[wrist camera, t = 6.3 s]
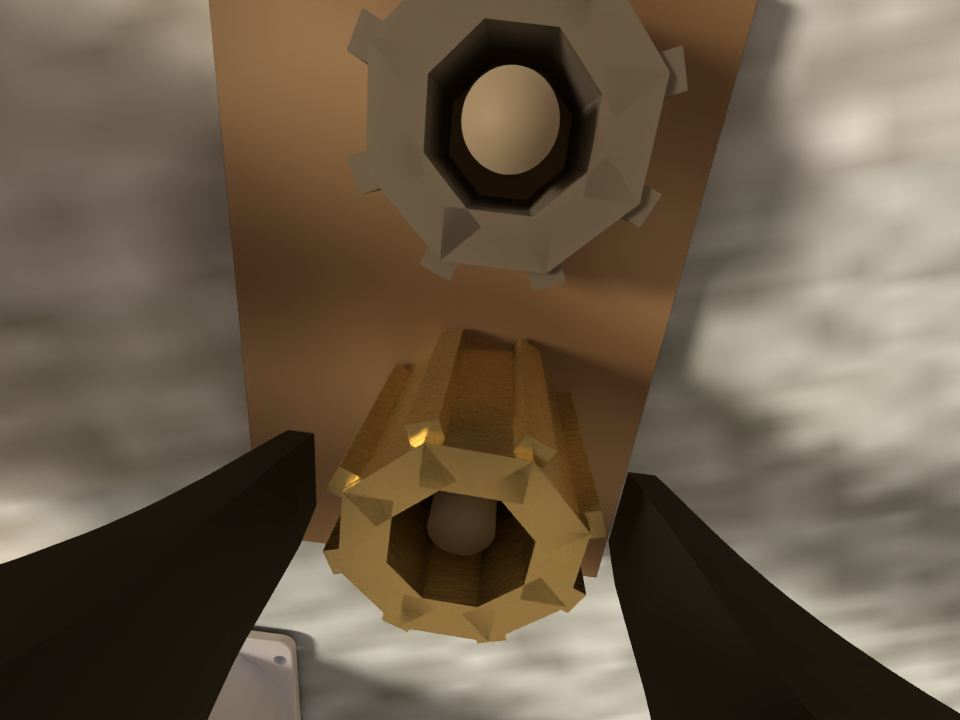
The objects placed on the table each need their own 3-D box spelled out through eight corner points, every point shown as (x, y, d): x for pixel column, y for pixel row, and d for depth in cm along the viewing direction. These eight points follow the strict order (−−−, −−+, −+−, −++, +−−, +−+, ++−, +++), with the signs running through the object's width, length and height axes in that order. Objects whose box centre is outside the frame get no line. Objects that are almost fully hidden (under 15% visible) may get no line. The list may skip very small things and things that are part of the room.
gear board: (590, 549, 16) (624, 710, 12) (276, 509, 16) (181, 652, 12) (740, -16, 10) (948, -177, 5) (232, -76, 10) (-12, -283, 5)
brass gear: (589, 347, 12) (638, 459, 8) (546, 503, 14) (565, 666, 10) (394, 313, 12) (324, 406, 8) (378, 474, 14) (316, 626, 10)
